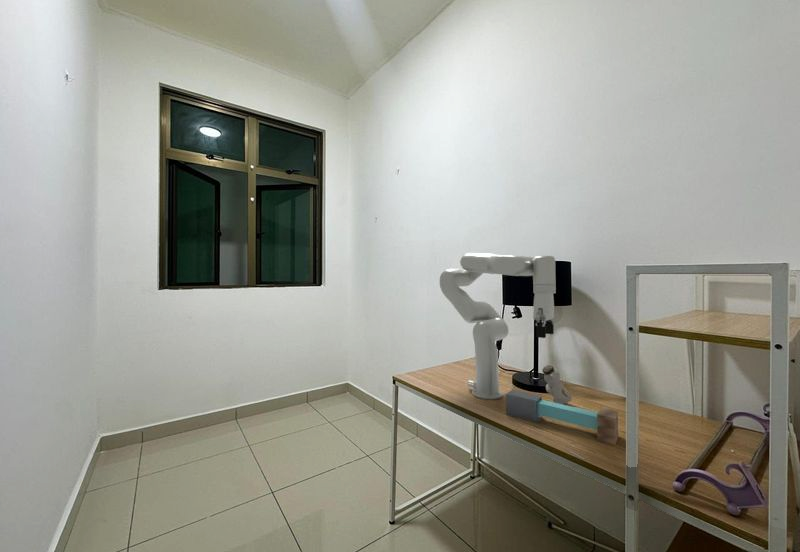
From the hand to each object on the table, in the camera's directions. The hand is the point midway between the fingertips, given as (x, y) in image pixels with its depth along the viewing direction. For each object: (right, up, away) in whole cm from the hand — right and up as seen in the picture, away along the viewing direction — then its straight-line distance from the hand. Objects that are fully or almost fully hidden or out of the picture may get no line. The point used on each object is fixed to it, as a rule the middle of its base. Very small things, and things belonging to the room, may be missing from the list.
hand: (545, 335), depth 118 cm
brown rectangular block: (+10, -28, -20) cm, 36 cm away
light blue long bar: (+2, -26, -13) cm, 29 cm away
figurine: (+8, -29, +7) cm, 31 cm away
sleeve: (-9, -28, -3) cm, 30 cm away
